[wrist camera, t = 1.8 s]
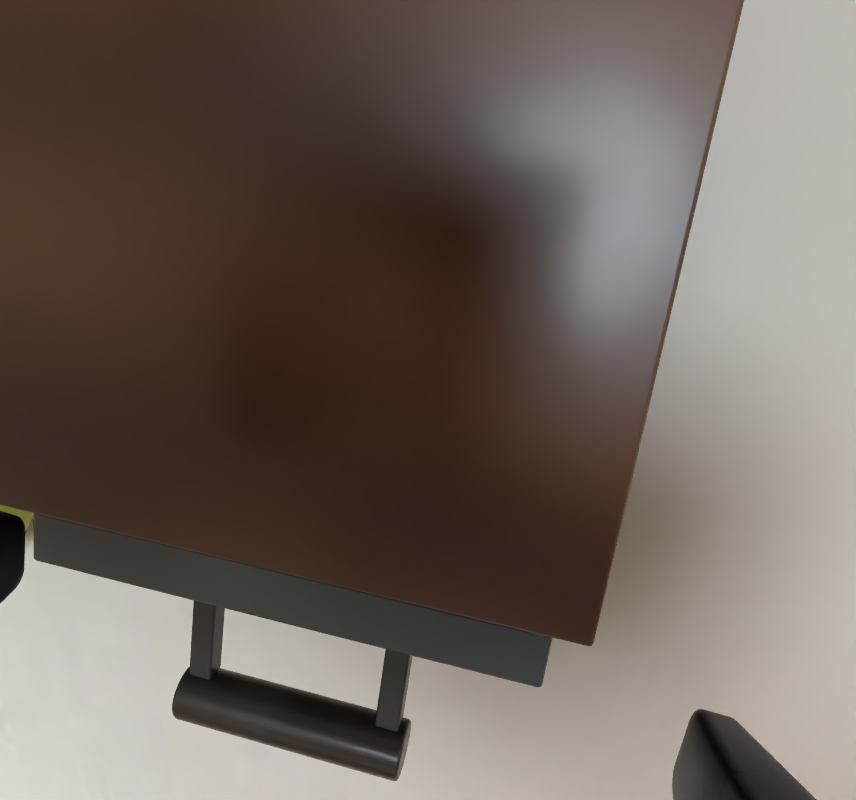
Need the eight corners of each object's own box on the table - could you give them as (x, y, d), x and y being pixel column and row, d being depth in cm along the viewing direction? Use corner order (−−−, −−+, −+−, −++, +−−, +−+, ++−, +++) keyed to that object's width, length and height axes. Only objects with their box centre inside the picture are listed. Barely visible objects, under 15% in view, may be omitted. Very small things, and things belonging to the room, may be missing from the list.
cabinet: (575, 467, 21) (592, 649, 11) (221, 398, 23) (-30, 499, 13) (689, -76, 17) (869, -529, 7) (254, -102, 19) (-63, -486, 9)
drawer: (520, 654, 21) (499, 885, 13) (212, 578, 23) (33, 743, 15) (647, 25, 17) (730, -188, 9) (252, -9, 19) (25, -212, 11)
